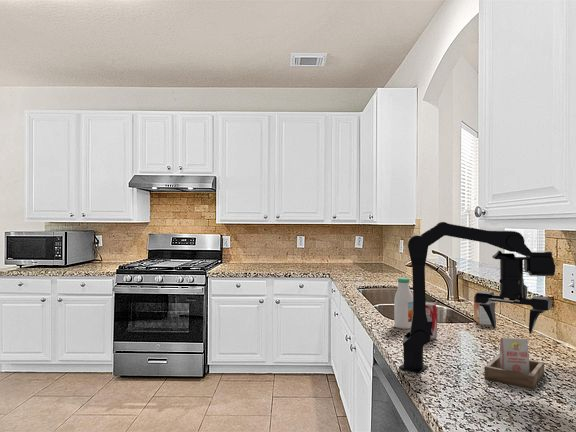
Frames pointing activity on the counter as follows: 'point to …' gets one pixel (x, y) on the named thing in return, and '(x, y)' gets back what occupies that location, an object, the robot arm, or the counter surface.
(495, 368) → the walnut tray
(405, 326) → the milk bottle
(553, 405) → the counter surface
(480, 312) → the small box
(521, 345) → the tea bag
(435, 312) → the soda can
